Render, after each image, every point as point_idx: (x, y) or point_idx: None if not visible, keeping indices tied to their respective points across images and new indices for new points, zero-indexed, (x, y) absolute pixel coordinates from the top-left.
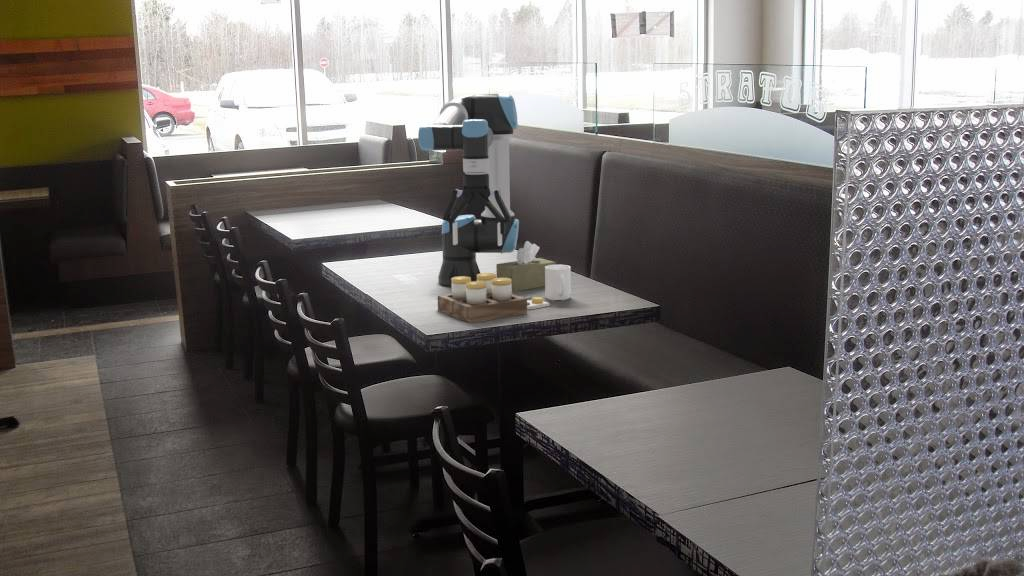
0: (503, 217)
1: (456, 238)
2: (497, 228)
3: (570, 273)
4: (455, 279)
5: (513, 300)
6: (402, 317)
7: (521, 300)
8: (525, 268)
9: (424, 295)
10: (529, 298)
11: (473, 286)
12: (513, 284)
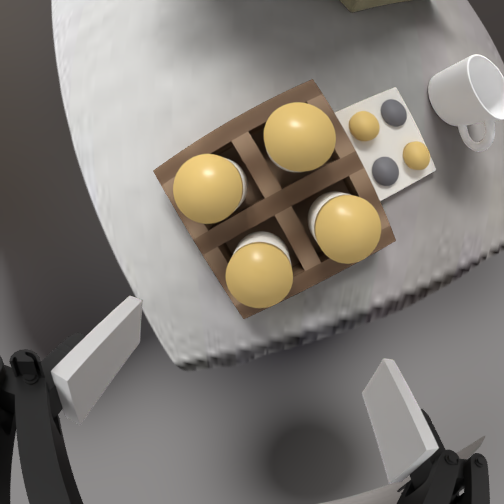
0: (456, 476)
1: (126, 339)
2: (383, 462)
3: (502, 105)
4: (187, 207)
5: None
6: (106, 234)
7: (381, 248)
8: None
9: (142, 36)
10: (400, 124)
11: (250, 305)
12: (357, 4)
